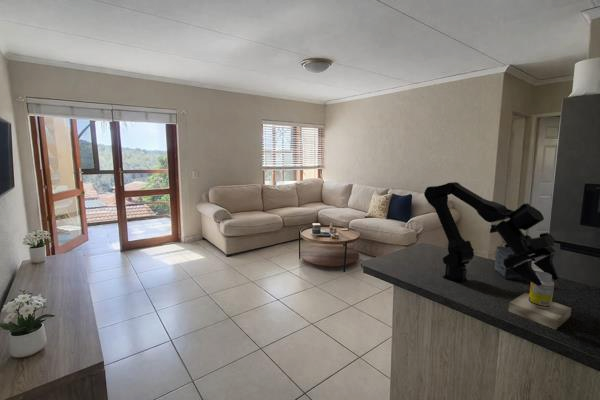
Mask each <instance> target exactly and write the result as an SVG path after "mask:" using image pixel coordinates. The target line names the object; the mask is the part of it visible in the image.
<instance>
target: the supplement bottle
mask: <svg viewBox="0 0 600 400" xmlns="http://www.w3.org/2000/svg"><path fill="white" fill-rule="evenodd" d="M534 272H535V273H536V275H537V276H538V278H539V280H540V281H541V283H542V285H540V286H538V285H536V284H534V283H533V282H531V281H530V287H529V293H528V294H529V303H530V304H532V305H533V306H536V307H538V308H544V309H548V308H550V307H551V304H552V302H553V295H554V288H555V282H554V280H553V279H552V275H551V274H549V273H546V272H544V271H542V270H541V271H539V270H537V271H534Z"/></svg>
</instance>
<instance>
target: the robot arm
mask: <svg viewBox="0 0 600 400" xmlns="http://www.w3.org/2000/svg"><path fill="white" fill-rule="evenodd" d="M423 195H424V197H425V200H426V202H427V203H428V204H429V205H430V206H431V207H432V208H434V210H435V212H436V215H437V218H438V219H439V222H440V224H441V226H442V229H443V231H444V235H445V236H446V239H447V240H448V243H447V252H448V254H446V255H445V256H444V257H442V262H443V264H444V265H445V270H444V271H445V273H444V275H442V278H444V279H446V280H449V281H451V282H455V283H461V282H464V281H466V280H467V268H466V266H467V264H469V263H470V261H472V260H473V258H474V256H475V254H474V251H475V249H474V248H473V246H472V244H471V241H470V240H465V239H464V238H463V237H462V235H461V233H460V231H459V228H458V226H457V224H456V221H455V219H454V217H453V215H452V213H451V211H450V208H449V206H448V202H449V201H448V200H449V196H450V195H453V197H456V198H457V199H459V200H460V201H462V202H463V203H465V204H467V205H468V206H470V207H472V208H473V209H474V210H475V211H476V213H477V214H478V215H479V216H480V217H481V218H482V219H483V220H484V221H486V222H487V223H496V222H499V223H497V224H491V225H490V229H489V233H490V234H494V233H498V234H499V236H500V237H501V238H502V239H503V241H504V242H505V245H504V246H503V247H506V248H510V249H511V250H512V252H513V253H514V254H513V255H511V256H509V257H508V258H506V259H504V260H503V265H504V266H505V267H506V269H509V268H512V267H514V268H512V269H510V270H511V271H514V272H516V273H518V274H520V275H521V276H522V278H523V277H524V279H526V280H528V281H530V283H531V282H533V283H534V284H536V285H538V286H540V285H542V283H541V281H540V280H539V278H538V276H537V275H536V273H535V272H536V271H535V270H534V268H533V267H532V264H534V265H535V266H536V267H538V269H540V270H541V272H546V273H549V274H551V275H552V280H553V281H557V280H559V276H558V273H557V272H556V268H555V265H554V262H553V259H554V257H555V255H556V251H555V249H554V248H553V247H555V242H554V241H555V240H556V238H555V237H553V235H551V234H550V233H549V232H544V233H540V234H539V236H538V237H531V235H528V234H526V235H525V234H524V233H523V232H522V230H524V231H528V230H529V229H531V228H533V227H534V226H536V225H538V224H539V223H541V222H543V221H544V219H545V218H544V215H543V214H542V212H541V211H540V210H538V209H537V208H536V207H534V206H531V205H530V204H529V203H527V202H526V203H523V204H522V205H520V206H519V207H517V208H516V209H515V210H513V209H509V208H508V207H507V206H505V205H504V204H502V203H500V202H499V203H498V202H495V201H492V200H488V199H485V198H483V197H481V196H480V195H478V194H476V193H475V192H473V191H472V190H470V189H468V188H466V187H464V186H463V185H462V184H460V183H459V182H455V181H454V182H453V181H451V182H447V183H445V184H441V185H436V186H435V185H433V186H432V185H431V186H427V187H426V188H425V190H424V193H423ZM507 219H508V220H507Z"/></svg>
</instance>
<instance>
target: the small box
mask: <svg viewBox="0 0 600 400" xmlns="http://www.w3.org/2000/svg"><path fill="white" fill-rule="evenodd" d="M513 254H514V253H513V252H512V250H511V249H510V248H506V247H505V246H500V245H497V246H496V253H495V259H494V266H493V270H494V271H495V272H496V273H497V274H498V275H500V276H501V277H502V278H503V279H505V280H515V281H523V280H522V279H523V276H521V275H520V274H518V273H516V272H514V271H511V270H510V269H512V268H514V267H512V268H509V269H506V267H505V266H504V265H503V260H504V259H506V258H508V257H509V256H511V255H513Z"/></svg>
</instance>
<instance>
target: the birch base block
mask: <svg viewBox="0 0 600 400" xmlns="http://www.w3.org/2000/svg"><path fill="white" fill-rule="evenodd" d="M507 310H508V312H510V313H512V314H514V315H518V316H520V317H522V318H524V319H527V320H530V321H532V322H535V323H538V324H540V325H543V326H544V327H547V326H548V327H547V328H551V329H552V330H557V329H559V328H560V326H562V325H563V324H564V323H565V322H567V321H568V320H569V318H571V313H572V307H570V306H567V305H564V304H561V303H558V302H555V301H552V304H551V307H550V308H548V309H544V308H538V307H536V306H533V305H532V304H530V303H529V293H528V292H524V293H522V294H521V295H519V296H517V297H515V298H514V299H513V300H511V301H509V304H508V309H507ZM558 327H559V328H558Z"/></svg>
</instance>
